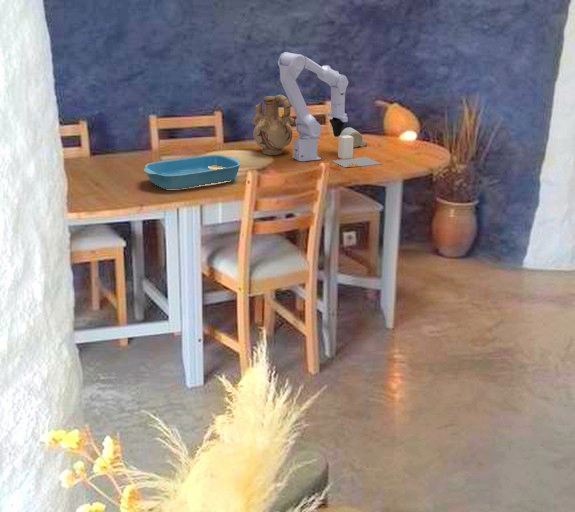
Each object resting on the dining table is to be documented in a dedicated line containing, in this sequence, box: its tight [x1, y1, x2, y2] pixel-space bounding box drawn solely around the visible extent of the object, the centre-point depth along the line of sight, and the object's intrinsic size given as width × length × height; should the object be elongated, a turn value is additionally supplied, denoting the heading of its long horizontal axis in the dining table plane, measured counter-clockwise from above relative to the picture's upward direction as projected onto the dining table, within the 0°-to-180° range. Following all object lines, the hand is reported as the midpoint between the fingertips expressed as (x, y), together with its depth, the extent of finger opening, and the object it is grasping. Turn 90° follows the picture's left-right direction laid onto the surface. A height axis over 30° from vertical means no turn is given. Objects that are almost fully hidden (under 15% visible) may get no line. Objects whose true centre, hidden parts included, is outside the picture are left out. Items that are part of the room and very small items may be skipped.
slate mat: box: [331, 156, 382, 168], centre depth 354 cm, size 16×12×1 cm
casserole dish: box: [143, 154, 241, 190], centre depth 324 cm, size 37×22×7 cm, turn 121°
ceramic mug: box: [340, 126, 368, 149], centre depth 383 cm, size 11×8×8 cm
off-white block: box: [337, 135, 354, 160], centre depth 361 cm, size 4×4×9 cm
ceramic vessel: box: [250, 94, 295, 156], centre depth 366 cm, size 18×19×25 cm
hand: (337, 136), depth 367 cm, fingers closed
